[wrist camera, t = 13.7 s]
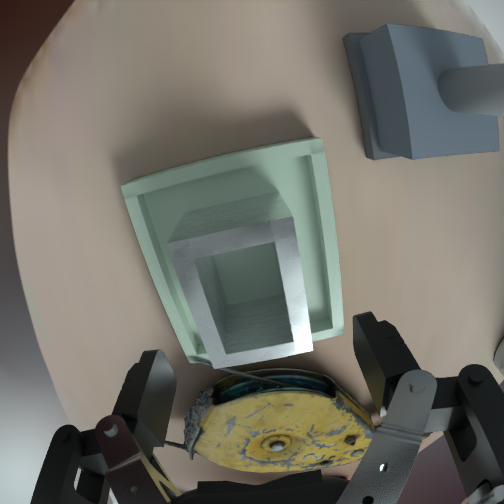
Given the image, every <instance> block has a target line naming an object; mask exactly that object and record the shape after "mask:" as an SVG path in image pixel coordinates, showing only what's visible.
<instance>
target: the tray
mask: <svg viewBox="0 0 504 504" xmlns="http://www.w3.org/2000/svg"><path fill="white" fill-rule="evenodd" d="M120 187H121V190H122V193H123V196H124V200H125V203H126V206H127V209H128V212H129V215H130V218H131V221H132V224H133V227H134V230H135V233H136V236H137V238H138V241H139V244H140V247H141V249H142V252H143V255H144V258H145V260H146V263H147V266H148V268H149V271H150V273H151V276H152V278H153V281H154V283H155V286H156V288H157V291H158V293H159V296H160V298H161V301H162V303H163V305H164V308H165V310H166V312H167V315H168V317H169V319H170V322H171V324H172V326H173V328H174V331H175V333H176V335H177V337H178V340H179V342H180V344H181V346H182V348H183V350H184V352H185V355H186V357H187V359H188V361H189V363H190V364H192V363H198V362H195V361H193V360H191V359H194V360H201V361H204V362H207V361H210V358H209V356H208V354H207V351H206V349H205V347H204V344H203V342H202V339H201V337H200V334H199V332H198V329H197V327H196V324H195V322H194V319H193V317H192V314H191V312H190V309H189V306H188V304H187V301H186V298H185V296H184V293H183V290H182V288H181V285H180V282H179V279H178V277H177V274H176V271H175V268H174V265H173V263H172V260H171V257H170V254H169V251H168V248H167V245H166V244H167V242H168V240H169V238H170V237H171V235H172V233H173V231H174V230H175V228H176V226H177V224H178V223H179V221H180V219H181V218H182V216H183V214H184V213H186V212H190V211H194V210H198V209H202V208H206V207H211V206H215V205H219V204H223V203H228V202H232V201H237V200H241V199H246V198H250V197H255V196H260V195H264V194H269V193H274V192H279V193H280V194H281V196H282V198H283V199H284V201H285V203H286V205H287V206H288V208H289V210H290V212H291V213H292V215H293V218H294V224H295V230H296V236H297V242H298V248H299V254H300V260H301V267H302V273H303V280H304V286H305V293H306V300H307V307H308V314H309V322H310V329H311V337H312V342H313V341H317V340H322V339H326V338H330V337H334V336H338V335H342V334H344V323H343V305H342V291H341V278H340V266H339V255H338V245H337V236H336V227H335V219H334V211H333V203H332V196H331V189H330V182H329V175H328V169H327V163H326V157H325V151H324V145H323V139H322V138H319V137H309V138H303V139H297V140H292V141H286V142H281V143H276V144H270V145H265V146H260V147H256V148H251V149H246V150H242V151H237V152H233V153H228V154H224V155H220V156H216V157H212V158H208V159H204V160H200V161H196V162H192V163H188V164H185V165H181V166H177V167H174V168H170V169H167V170H163V171H160V172H157V173H153V174H150V175H147V176H143V177H140V178H137V179H134V180H131V181H129V182H127V183H125V184H124V185H122V186H120ZM213 256H214V260H215V263H216V267H217V270H218V273H219V277H220V280H221V283H222V287H223V290H224V293H225V297H226V300H227V303H228V305H233V304H238V303H243V302H248V301H253V300H258V299H263V298H267V297H272V296H277V295H282V289H281V284H280V279H279V274H278V269H277V264H276V259H275V254H274V249H273V244H272V242H271V243H266V244H261V245H257V246H252V247H247V248H243V249H238V250H233V251H229V252H224V253H219V254H215V255H213Z"/></svg>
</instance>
